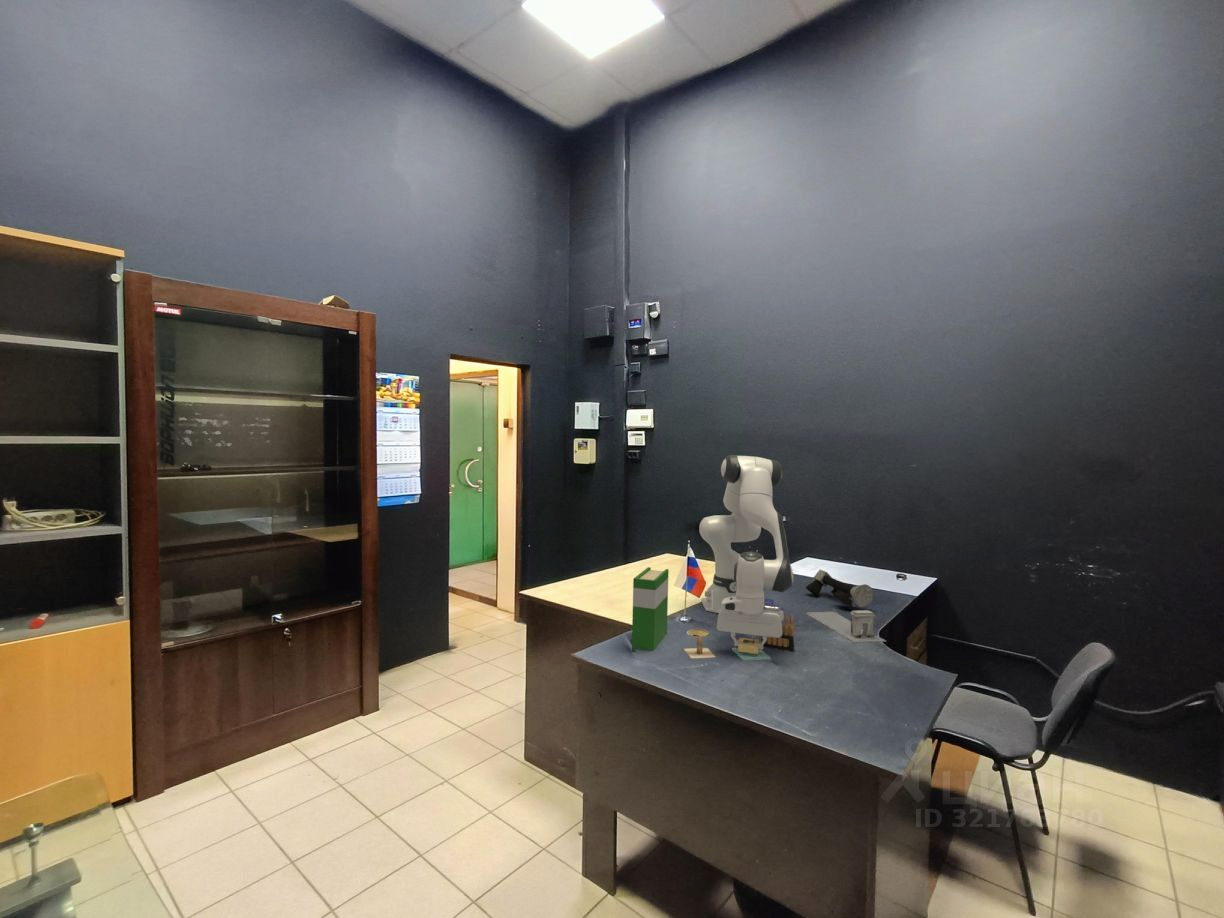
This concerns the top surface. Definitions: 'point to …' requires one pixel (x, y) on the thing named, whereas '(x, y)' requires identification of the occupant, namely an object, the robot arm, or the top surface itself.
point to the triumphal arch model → (849, 625)
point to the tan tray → (748, 645)
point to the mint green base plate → (751, 655)
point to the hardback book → (649, 609)
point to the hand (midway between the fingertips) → (748, 647)
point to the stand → (699, 650)
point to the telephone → (842, 590)
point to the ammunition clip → (783, 637)
